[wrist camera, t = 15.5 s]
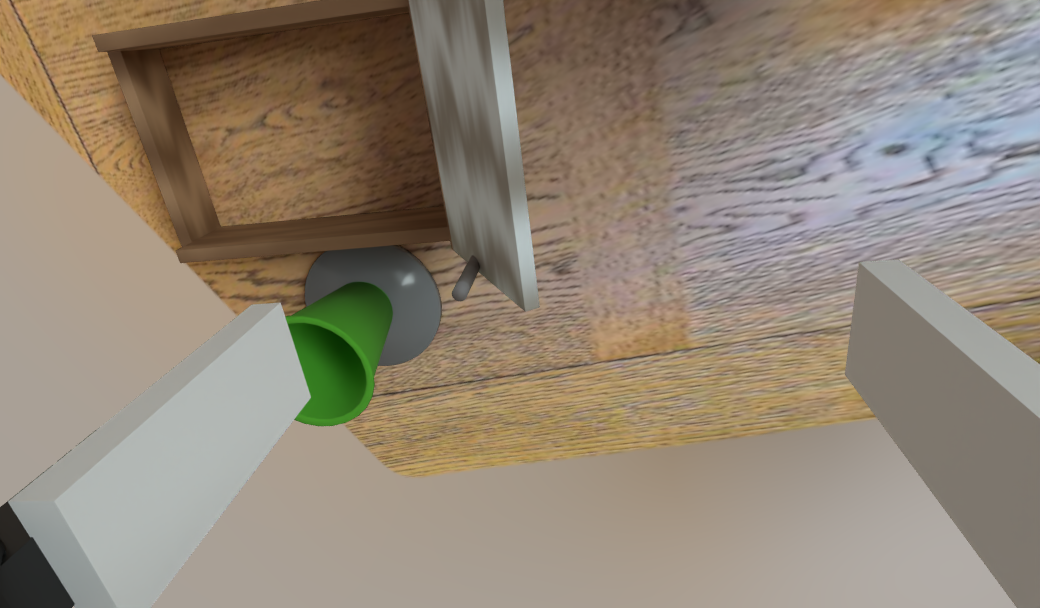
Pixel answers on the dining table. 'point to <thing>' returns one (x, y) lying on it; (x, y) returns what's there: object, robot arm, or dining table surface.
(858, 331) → the robot arm
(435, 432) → the dining table surface
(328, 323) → the cup
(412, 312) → the gray round coaster
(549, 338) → the dining table surface
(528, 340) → the dining table surface
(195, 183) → the cold frame
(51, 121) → the dining table surface
